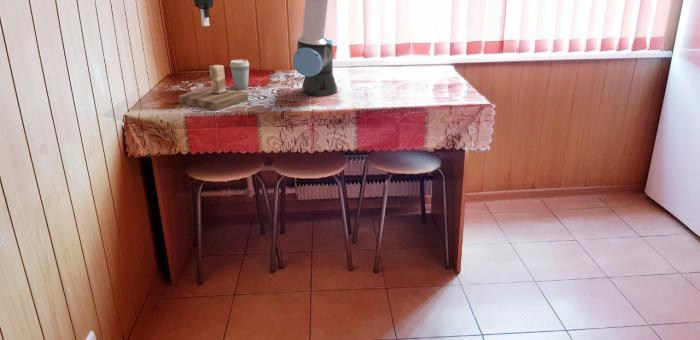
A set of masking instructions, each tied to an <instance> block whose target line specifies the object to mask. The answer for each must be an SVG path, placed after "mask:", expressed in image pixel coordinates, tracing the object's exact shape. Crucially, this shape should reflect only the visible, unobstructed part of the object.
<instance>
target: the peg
mask: <svg viewBox="0 0 700 340" xmlns="http://www.w3.org/2000/svg"><path fill="white" fill-rule="evenodd" d="M208 68H209V76H210V77H209V79H210V85H211V86H210V87H211V89H212V94H216V95H221V94H224V93H226V89H227V87H226V85H227V84H226V78H225V77H226V76H225V74H226V73H225V66H224V65H222V64H214V65H212V64H211V65H209V67H208Z"/></svg>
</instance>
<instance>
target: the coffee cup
mask: <svg viewBox="0 0 700 340" xmlns="http://www.w3.org/2000/svg"><path fill="white" fill-rule="evenodd" d="M229 67H230V70H231V71H230V72H231V76H232V80H233V84H234V85H233V86H234V90H239V91H240V90H241V91H242V90H247V89H248V88H249V74H250V72H249V70H250V63H249V61H248V60H247V59H232V60H230V62H229Z"/></svg>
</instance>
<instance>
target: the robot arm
mask: <svg viewBox="0 0 700 340" xmlns="http://www.w3.org/2000/svg"><path fill="white" fill-rule="evenodd" d="M328 2H329V0H304V11H303V22H302V32H301V35H300V36H299V37H298V38H297V46H296V51H295V53H294V55H293V58H292V64H293V67H294V69H295V70H296V72H298V74H300V75H301V76H304V79H303V81H302V86H301V92H302V94H304V95H307V96H317V97H318V96H319V97H321V96H323V97H324V96H331V95H334V94H336V93H337V92H338V91H337V90H338V89H337V88H338V87H337V84H336V81H335V77H334V71H333V69H334V67H333V65H334V64H333V56H334V55H333V48H334V46H333V40H332V38H327V37H325V31H326V29H325V28H326V21H327V13H328ZM193 3H194V6H195V8H198V10H199V17H200V21H201V27H210V25H211V24H210V8H213V7H214V5H213V4H214V0H193Z"/></svg>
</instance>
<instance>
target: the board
mask: <svg viewBox="0 0 700 340" xmlns="http://www.w3.org/2000/svg"><path fill="white" fill-rule="evenodd" d="M178 97H179V104H184V105H187V106H188V105H189V106H194V107H197V108H202V109H207V110H211V111H216V112H217V111H219V110H223V109H225V108H229V107H232V106H235V105H238V104H241V103H243V102H247V101H249V94H248V92H245V91H240V90H239V91H238V90H235V89H234V90H232V89H228V88H226V93H224V94H221V95H216V94H212V89H211V86H209V87H206V88H201V89H198V90H195V91H194V90H193V91H191V92H187V93H185V94H181V95H178ZM228 106H229V107H228Z"/></svg>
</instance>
